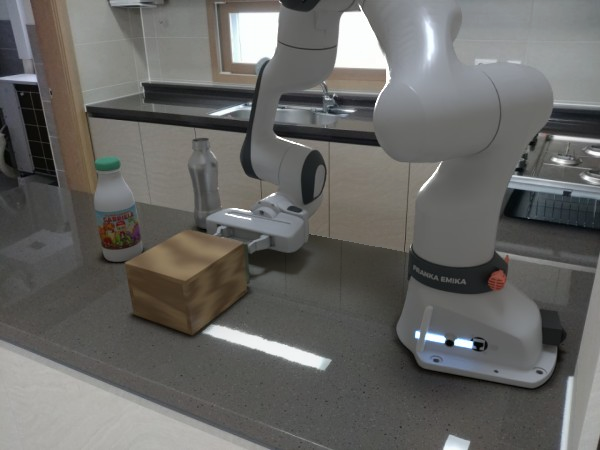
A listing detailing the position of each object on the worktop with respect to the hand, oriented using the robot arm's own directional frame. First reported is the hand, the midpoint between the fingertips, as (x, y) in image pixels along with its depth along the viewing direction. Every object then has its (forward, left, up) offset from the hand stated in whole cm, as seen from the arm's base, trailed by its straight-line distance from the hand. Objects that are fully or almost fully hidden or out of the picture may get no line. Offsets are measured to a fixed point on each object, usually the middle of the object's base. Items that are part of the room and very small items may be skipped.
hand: (230, 245), depth 98 cm
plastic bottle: (+18, -16, -6) cm, 25 cm away
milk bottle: (+25, +3, -6) cm, 26 cm away
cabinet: (0, +11, -6) cm, 13 cm away
